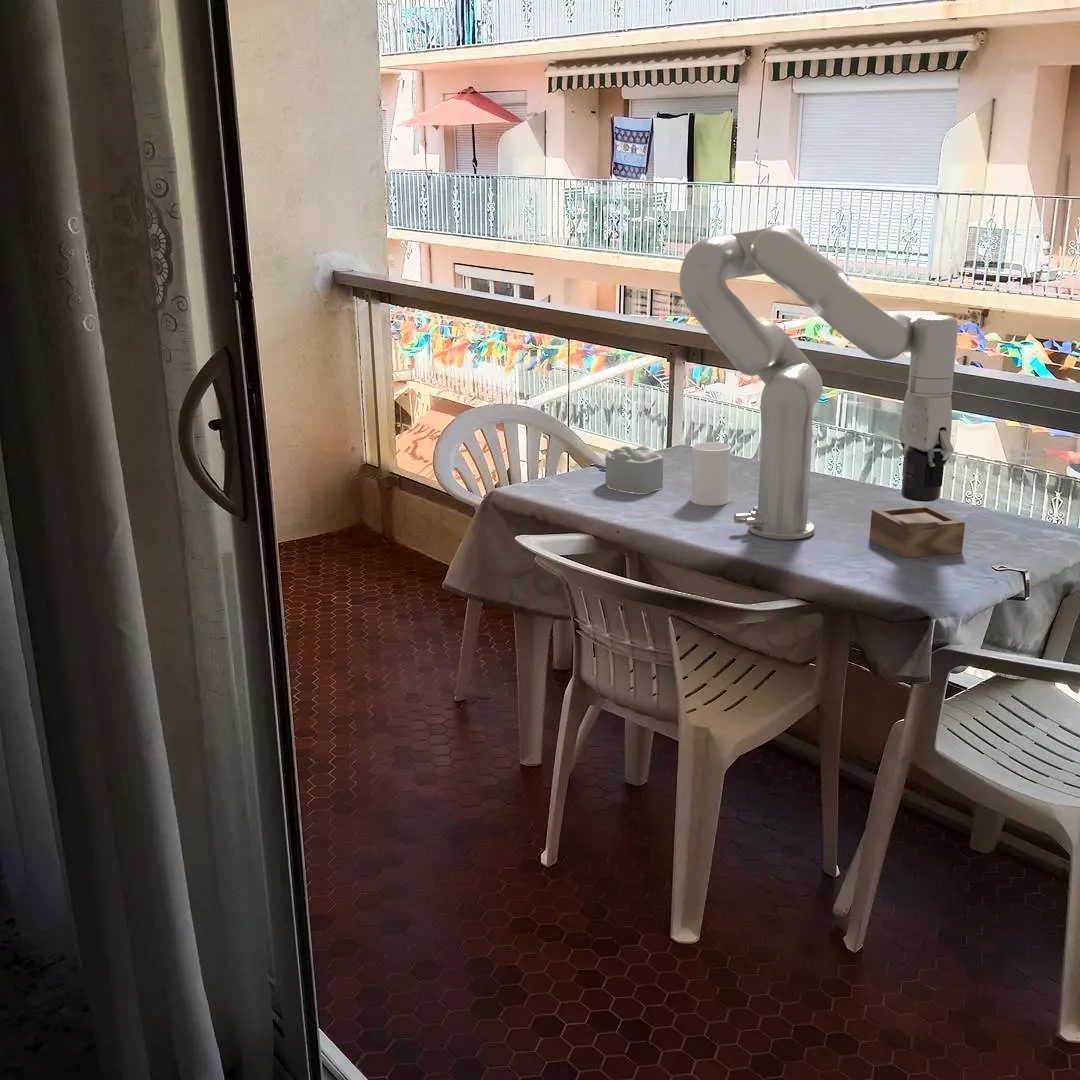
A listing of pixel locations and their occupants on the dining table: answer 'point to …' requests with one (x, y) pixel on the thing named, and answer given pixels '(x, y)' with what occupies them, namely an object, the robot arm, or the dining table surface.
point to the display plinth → (917, 531)
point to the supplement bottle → (917, 477)
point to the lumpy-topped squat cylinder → (634, 469)
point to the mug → (710, 474)
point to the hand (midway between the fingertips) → (921, 481)
